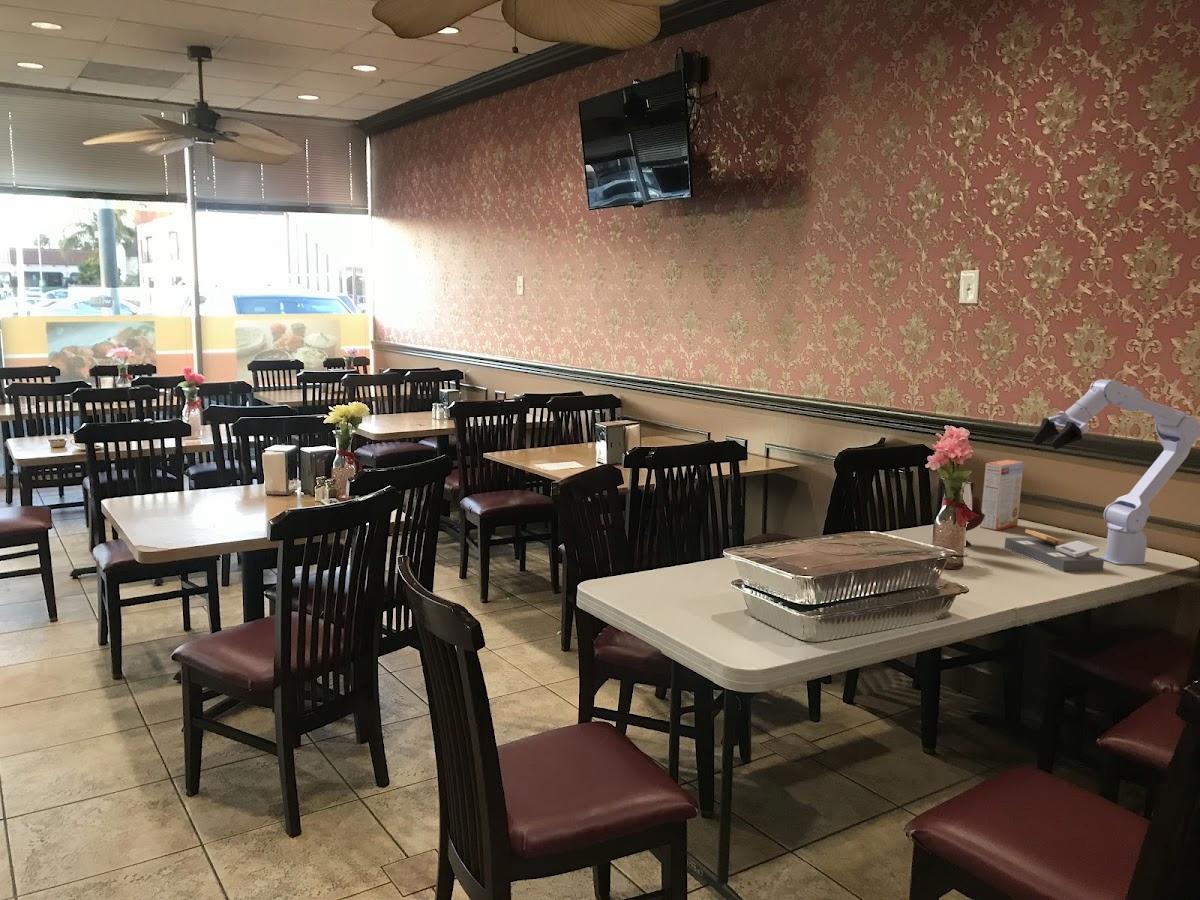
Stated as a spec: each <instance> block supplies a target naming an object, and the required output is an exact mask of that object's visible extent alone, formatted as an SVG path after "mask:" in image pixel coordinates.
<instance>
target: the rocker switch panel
mask: <svg viewBox="0 0 1200 900" xmlns="http://www.w3.org/2000/svg"><path fill="white" fill-rule="evenodd" d="M1004 541H1005V542H1004V547H1003V548H1004V549H1006V548H1007V549H1006V550H1009V549H1010V550H1009V551H1011V550H1012V552H1013V551H1015V552H1014V553H1016V552H1018V553H1020V554H1019V555H1021V554H1023V555H1025V556H1024V557H1026V556H1028V557H1030V558H1029V559H1031V558H1033V559H1035V560H1038V561H1041V562H1043V563H1045V564H1048V565H1050V566H1052V567H1051V568H1053V567H1055V568H1057V569H1059V570H1058V571H1060V570H1062V571H1078V572H1103V571H1104V564H1105V560H1104V559H1101V558H1098V557H1097V556H1094V555H1091V554H1089V556H1088V557H1087V556H1084V555H1083V556H1080V557H1076V558H1075V557H1073V556H1070V555H1068V554H1065V553H1062V552H1060V551H1057V550H1056V548H1055V546H1059V545H1062V544H1059V543H1058V544H1057V545H1054V544H1052V543H1049V542H1046V541H1044V540H1041V539H1038V538H1036V537H1034V536H1033V537H1005V539H1004ZM1018 553H1017V554H1018ZM1023 555H1022V556H1023ZM1028 557H1027V558H1028ZM1033 559H1032V560H1033ZM1035 560H1034V561H1035ZM1038 561H1037V562H1038ZM1043 563H1042V564H1043ZM1045 564H1044V565H1045ZM1048 565H1047V566H1048ZM1050 566H1049V567H1050ZM1055 568H1054V569H1055ZM1057 569H1056V570H1057ZM1062 571H1061V572H1062Z"/></svg>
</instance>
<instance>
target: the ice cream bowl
mask: <svg viewBox="0 0 1200 900" xmlns="http://www.w3.org/2000/svg"><path fill="white" fill-rule="evenodd" d="M971 494H972V512H974V513H976V514H977V515H979V516H978V517H974V518H972V519H971V520H970V521H969V523H968V524H967V527H966V533H967V532H968V531H971V530H974V529H975V528H977V527H979V526H980V524H981V523H982V521H983V520H984V517H985V514H983V513H982V508H981V501H980V498H978V496H977V495H975V494H973V493H971ZM966 547H972V544H971V542H970V541H968V540H967V539H966Z"/></svg>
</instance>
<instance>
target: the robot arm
mask: <svg viewBox="0 0 1200 900" xmlns="http://www.w3.org/2000/svg"><path fill="white" fill-rule="evenodd" d="M1109 404H1110V405H1113V406H1115V407H1118V408H1121V409H1124V410H1126V411H1128V412H1134V411H1137V410H1139V411H1141V412H1144V413H1146V414H1148V415H1150V416H1152V417H1153V420H1152V423H1153V424H1154V429H1155V432H1156V435H1157V437H1158V439H1159V442H1160V445H1161V446H1162V447H1163V451H1162V452H1161V453H1160V454H1159V456H1158V457H1156V460H1154V462H1153V463H1152V465H1151V466H1150V467H1149V468H1148V469H1147V471H1146V472H1145V473H1144V474H1143V475H1142V477H1141V478H1140V479H1139V480H1138V482H1136V484H1135V485H1134V486H1133V488H1132V489H1131V490H1130V492H1129V493H1126V494H1125V495H1121V496H1118V497H1117V498H1116V499H1115V500H1114V501H1113V502H1111V503H1109V504H1108V505H1106V506H1105V509H1104V511H1103V519H1104V521H1105V522H1106V527H1108V529H1107V537H1106V545H1105V552H1104V555H1103V554H1102V555H1097V556H1096V557H1097V558H1100V559H1102V560H1104V561H1107V562H1110V563H1112V564H1114V565H1147V561H1145V560H1146V559H1145V558H1146V554H1147V553H1146V552H1147V545H1148V544H1147V543H1148V539H1147V535H1146V533H1145V532H1143V531H1142V530H1143V529H1144V527H1145V526H1146V524H1147V521H1148V518H1149V517H1150V516H1151V514H1152V512H1151V509H1150V507H1149V505H1150V503H1151V502H1152V501H1153V500H1154V498H1156V496H1157V494H1158V493H1159V492H1160V491H1161V490H1162V488H1163V487H1164V486H1165V484H1166V483H1167V482H1168V481H1169V479H1170V478H1171V477H1172V476H1173V475H1174V474H1175V473H1176V471H1177V470H1178V469H1179V467H1180V466H1181V465H1182V463H1183V462H1184V461H1185V460H1186V459H1187V458H1188V456H1189V454H1190V452H1191V449H1192V447H1193V444H1194V443H1196V441H1197V440H1198V438H1199V437H1200V422H1199V420H1198V419H1197V417H1194V416H1189V414H1187V413H1186V412H1185V411H1181V410H1179V409H1176V408H1173V407H1171V406H1169V405H1165V404H1162V403H1159V402H1157V401H1153V400H1150V399H1147V398H1144V395H1143V393H1142V392H1141V391H1139V390H1138V387H1136V386H1127V385H1124V383H1123V382H1122V381H1119V380H1118V381H1117V380H1113V379H1105V378H1104V379H1103V378H1101V379H1097V380H1096V381H1095V380H1093V381H1092V382H1091V383H1090V386H1089V389H1088V391H1086V393H1084V395H1083V396H1082V397H1080V398H1079V399H1077V401H1076V402H1075V403H1073V404H1072V405H1071V406H1070V407H1068V409H1066V410H1065V411H1063V410H1059V411H1058V415H1055V416H1049V417H1044V418H1042V420H1041V424H1040V426H1039V428H1038V430H1037V432H1036V433H1035V435H1034V436H1033V438H1031V439H1032V442H1033V444H1035V445H1036V446H1039V445H1041V444H1042V443H1044V442H1046V441H1047V440H1048V439H1050V438H1052V437H1055V436H1056V437H1055V438H1054V439H1053V440H1052V441H1051V443H1050V444H1051V446H1052V447H1053V449H1054V450H1059V449H1060V448H1062V447H1064V446H1066V445H1068V444H1071V443H1074V442H1077V441H1081V440H1083V439H1084V438H1083V435H1082V434H1086V433H1087V432H1088V431H1089V430H1091V428H1090V426H1089V425H1088V422H1089V421H1091V420H1092V418H1094V417H1095V416H1096V415H1097V414H1098V413H1100V412H1101V411H1102V410H1103V409H1104V408H1105V407H1107V406H1108V405H1109ZM1057 427H1059V428H1061V429H1062V430H1061V431H1058V429H1057Z"/></svg>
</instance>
